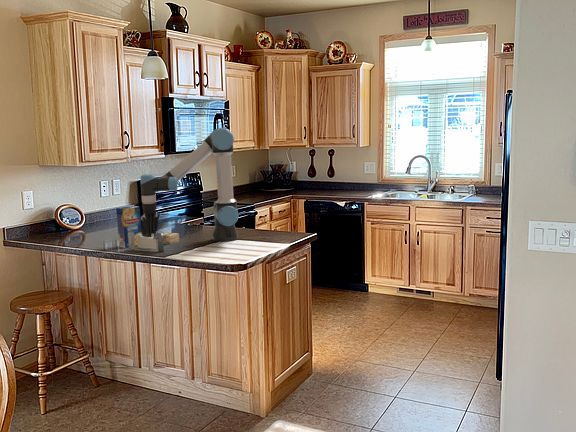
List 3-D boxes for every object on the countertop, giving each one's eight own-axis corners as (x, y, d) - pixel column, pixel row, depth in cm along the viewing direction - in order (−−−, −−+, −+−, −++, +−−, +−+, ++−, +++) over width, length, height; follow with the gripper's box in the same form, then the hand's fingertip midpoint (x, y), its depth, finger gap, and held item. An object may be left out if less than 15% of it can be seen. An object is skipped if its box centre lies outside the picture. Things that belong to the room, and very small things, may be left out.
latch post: (135, 249, 321) (134, 231, 319) (131, 250, 318) (130, 232, 316) (132, 249, 321) (131, 231, 320) (129, 250, 319) (127, 232, 317)
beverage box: (142, 244, 334) (139, 206, 330) (125, 248, 326) (122, 209, 322) (135, 243, 338) (133, 205, 335) (118, 246, 330) (116, 208, 327)
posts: (165, 251, 314) (163, 233, 312) (161, 252, 311) (160, 234, 309) (135, 249, 321) (134, 231, 319) (132, 250, 318) (131, 232, 316)
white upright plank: (159, 249, 315) (159, 236, 314) (157, 250, 313) (156, 237, 312) (141, 246, 323) (140, 234, 322) (138, 247, 322) (137, 234, 321)
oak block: (179, 241, 340) (178, 233, 339) (170, 244, 333) (170, 235, 332) (168, 241, 344) (167, 232, 343) (159, 243, 337) (159, 235, 336)
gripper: (152, 200, 325) (155, 242, 329) (135, 204, 314) (138, 246, 318) (162, 201, 321) (165, 243, 325) (145, 204, 310) (148, 248, 314)
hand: (151, 245), depth 321 cm, fingers closed
